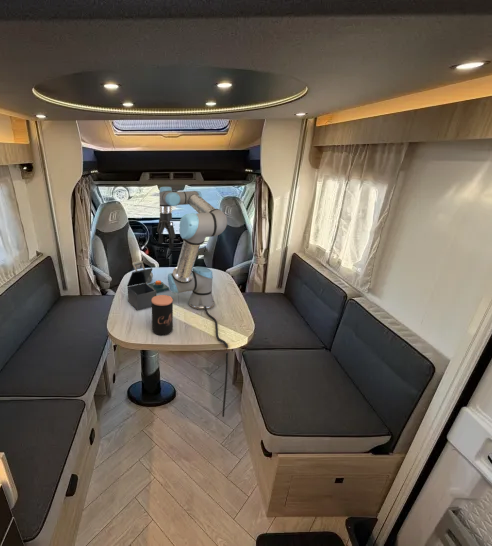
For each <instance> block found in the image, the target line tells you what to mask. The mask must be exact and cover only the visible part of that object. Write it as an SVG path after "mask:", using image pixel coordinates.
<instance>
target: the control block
mask: <svg viewBox="0 0 492 546" xmlns="http://www.w3.org/2000/svg"><path fill="white" fill-rule="evenodd" d="M147 284H148V285H149V286H151V287H152V288H153V289H154V290H156V294H159V293H163V292H167V291H170V287H169V285H166V284H165V283H164V282H162V281H161V284H159V285H157V284H156V281H154V282H152V283H151V282H150V283H147Z"/></svg>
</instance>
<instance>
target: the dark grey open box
mask: <svg viewBox="0 0 492 546" xmlns="http://www.w3.org/2000/svg"><path fill="white" fill-rule="evenodd" d="M148 284H149V283H142V284H137V285H133V286H128V287H127V302H128V303H130V304H129V305H131V306H132V307H133V308H134V309H135V310H136V311H142V310H147V309H150V308H152V298H153V297H155V296H158V295H157V294H158V293H156V290H154V289H153V288H152V287H151V286H149V285H148Z"/></svg>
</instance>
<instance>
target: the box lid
mask: <svg viewBox="0 0 492 546" xmlns="http://www.w3.org/2000/svg"><path fill="white" fill-rule="evenodd" d="M131 265H132V266H133V267H134V270H135V271H132V272H131V274H130V277H129V280H128V282H127V284H126V286H127V287H129V286H134V285H138V284H143V283H146V282H147V280H148V278H149V276H150V274H151V272H152V271H153V268H152V267H150V268H147V269H146V268H145V265H144V261H143V260H138V261H135V262H133V261H132V264H131ZM140 265H141V267H142V269H140V270H138V269H137V267H136V266H140Z"/></svg>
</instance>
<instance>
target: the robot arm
mask: <svg viewBox="0 0 492 546" xmlns="http://www.w3.org/2000/svg"><path fill="white" fill-rule="evenodd" d="M158 194H159V219H158V224H157V229H156V232H157V233H158V244H164V230H166V231H167V234H168V237H169V238H168V249H169V250H171V249H174V240H175V239H176V238H177V235H176V232H175V228H174V222H173V221H171V220H172V219H173V213H172V212H173V210H172V209H173V207H176V206H184V205H185V206H186V205H189V206H190V207H191V208H192V209H193V210H194V211H195V212H196V213H195V212H192V213H187V214H184V215H183V216H182V217H181V218H180V220H179V226H178V227H179V228H178V229H179V230H178V231H179V235H180V237H181V239H182V240H183V241H182V245H181V250H180V254H179V257H178V261H177V265H176V267H174V268H173V271H172V273H170V272H169V273H168V274H167V284H168V287H169V291H170V292H171V293H172V294H180V293H188V292H191V295H190V297H189V300H188V305H189V306H190V307H191V308H193V309H195V310H199V311H205V313H206V315H207V316H208V317H209V318H210V319H212V320H213V321H214V323H215V335H216V336H215V337H216V339H217V340H218V341H219V342H221V343H223V344H224V345H225V348H226V349H228V348H229V345H228V343H227V342H226V341H225V340H223V339H221V337H219V329H218V321H217V319H216V318H215V317H214V316H212V315H211V314H210V313H209V312H208V310H210V309H213V307H214V306H215V300H214V296H213V293H212V292H213V275H214V274H213V270H211V269H210V268H208V267H206V266H195V263H196V260H197V256H198V253H199V250H200V247H201V245H203V244H204V243H205V242H206V241H205V240H206V238H211V237H217V236H219V235H221V234H222V233H223V232H224V231H225V230H226V229H227V226H228V217H227V216H226V214H225V212H224V211H222V210H221V209H219V208H215V207H214V205H211V204H210V203H209V202H207V200H205V199H204V198H203V193H202V192H201V191H199V190H190V191H189V190H188V191H173V188H172V186H160V187H159V191H158ZM228 369H229V352H226V353H225V375H224V376H225V377H224V389H223V401H222V403H223V404H222V412H221V413H222V414H221V417H223V418H224V417H225V412H226V411H225V409H226V397H227V386H228V373H229V372H228V371H229V370H228Z"/></svg>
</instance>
